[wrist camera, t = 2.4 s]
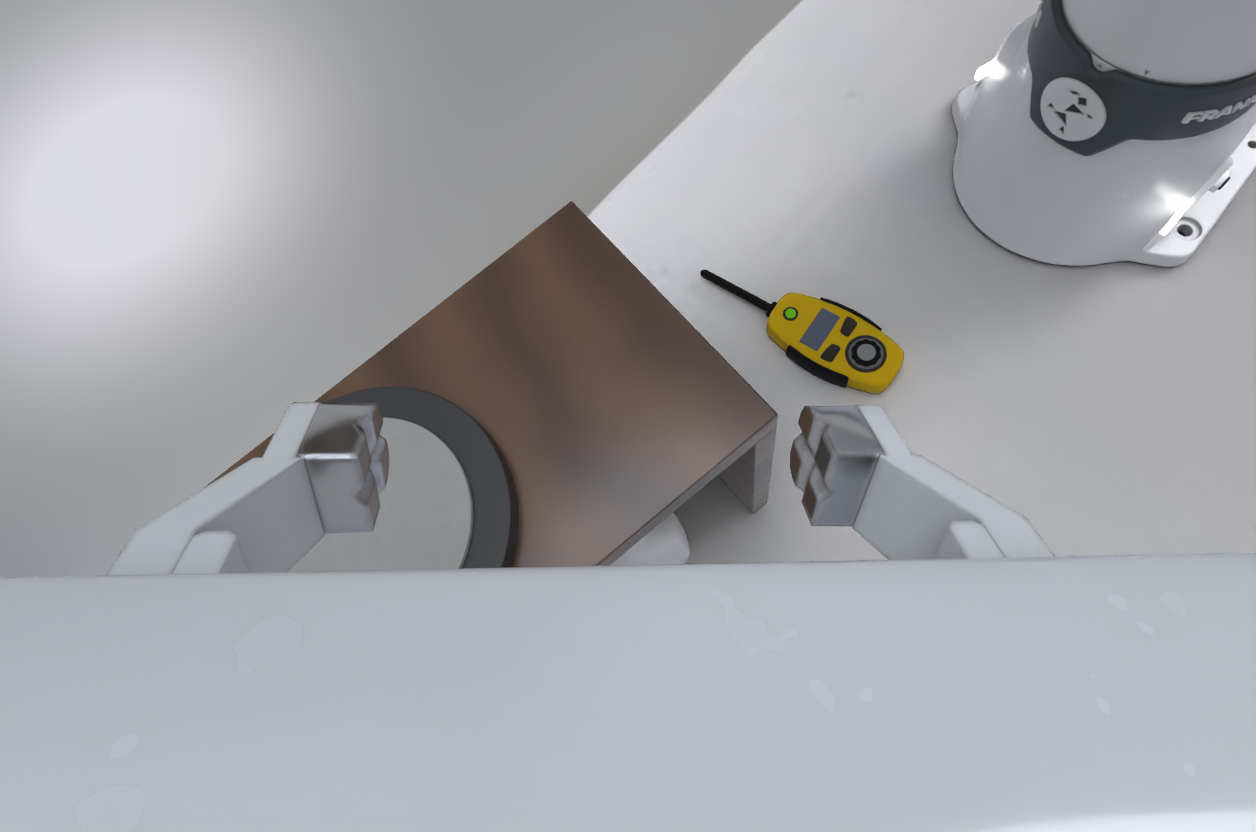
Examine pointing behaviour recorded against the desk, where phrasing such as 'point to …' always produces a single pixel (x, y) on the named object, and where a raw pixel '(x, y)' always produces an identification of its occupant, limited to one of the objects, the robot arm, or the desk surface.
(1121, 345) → the desk surface
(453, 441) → the hot plate
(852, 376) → the yellow walkie talkie
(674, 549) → the eye dropper bottle
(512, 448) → the desk shelf
